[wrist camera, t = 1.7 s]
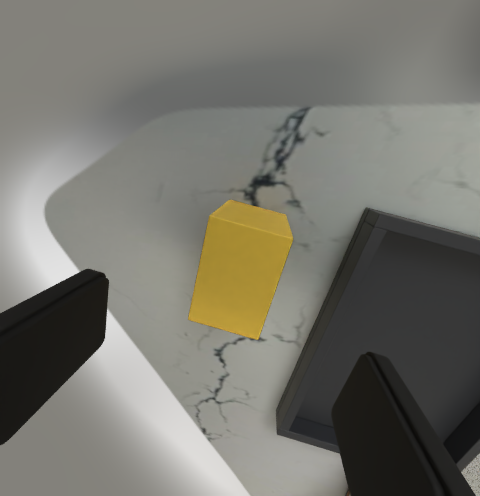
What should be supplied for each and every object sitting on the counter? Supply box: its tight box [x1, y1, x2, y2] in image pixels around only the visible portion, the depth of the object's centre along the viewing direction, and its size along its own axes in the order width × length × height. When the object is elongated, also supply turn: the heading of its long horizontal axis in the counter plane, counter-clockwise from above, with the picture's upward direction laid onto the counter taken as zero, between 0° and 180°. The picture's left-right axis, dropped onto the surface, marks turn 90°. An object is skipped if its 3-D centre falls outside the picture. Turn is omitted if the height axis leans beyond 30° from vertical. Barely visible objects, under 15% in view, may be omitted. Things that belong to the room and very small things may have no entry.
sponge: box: [188, 200, 293, 340], centre depth 14 cm, size 4×6×6 cm, turn 166°
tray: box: [276, 208, 480, 472], centre depth 17 cm, size 20×15×2 cm
